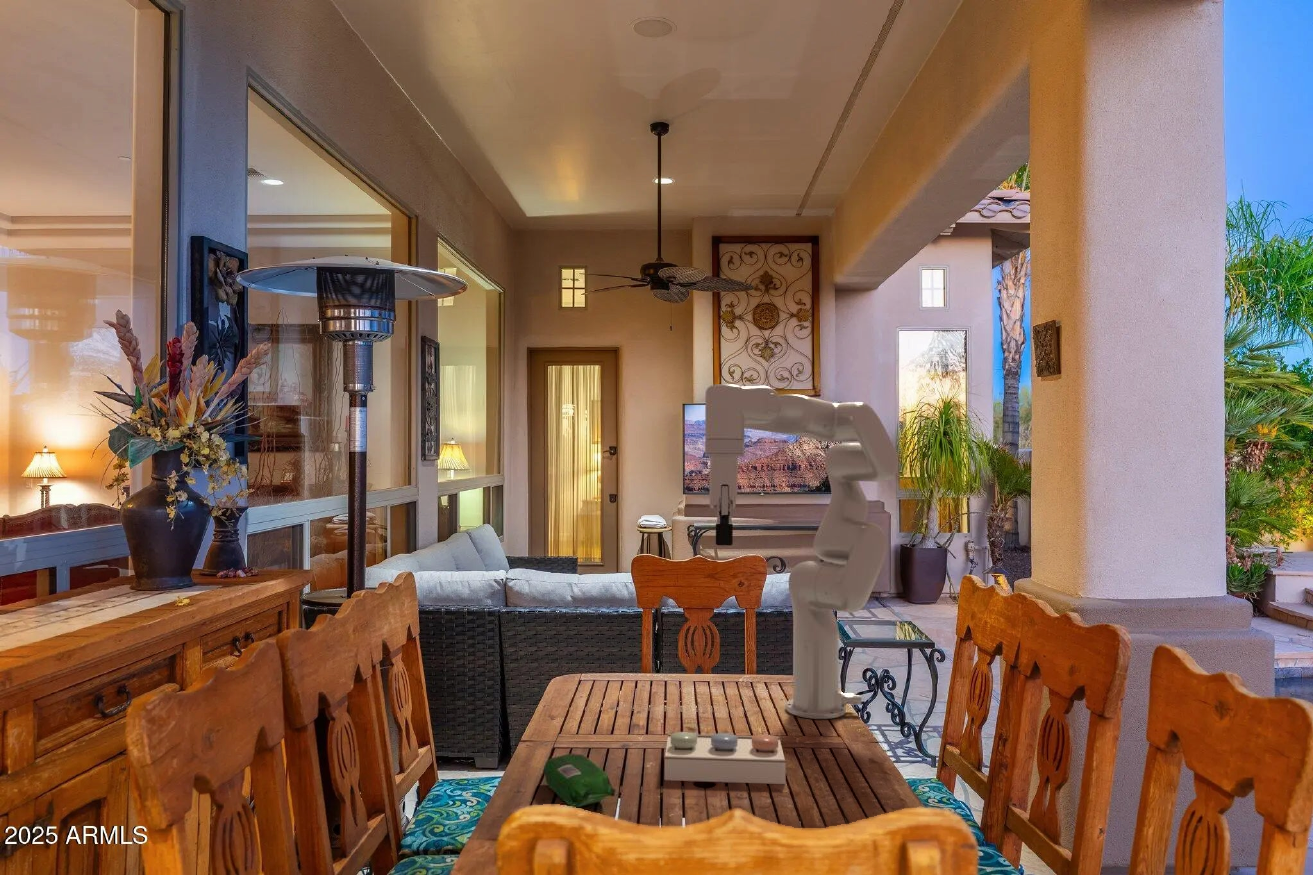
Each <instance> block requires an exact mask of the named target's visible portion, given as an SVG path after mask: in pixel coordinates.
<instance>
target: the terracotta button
mask: <svg viewBox="0 0 1313 875" xmlns="http://www.w3.org/2000/svg"><path fill="white" fill-rule="evenodd" d="M752 736H753V737H752V747H753V748H755V749H758V750H757V752H762V753H772V750H774V749H777V748H778V738H777V737H778V736H776V735H772V734H764V733H763V734H756V735H752Z"/></svg>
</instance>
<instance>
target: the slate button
mask: <svg viewBox="0 0 1313 875" xmlns="http://www.w3.org/2000/svg"><path fill="white" fill-rule="evenodd" d="M711 735H712V736H711V745H712V746H713V747H715V748H717V751H729V752H731V749H732V748H735V747H737V746H738V737H737V736H738V735H735V734H733V733H727V732H720V733H714V734H711Z"/></svg>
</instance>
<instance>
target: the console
mask: <svg viewBox="0 0 1313 875" xmlns="http://www.w3.org/2000/svg"><path fill="white" fill-rule="evenodd" d="M672 734H673V733H667V741H666V748H665V754H664V781H676V782H678V781H679V782H680V781H683V782H684V781H685V782H686V781H687V782H706V783H707V782H708V783H709V782H710V783H712V782H713V783H714V782H715V783H737V784H738V783H740V784H741V783H742V784H745V783H747V784H770V785H771V784H774V785H775V784H776V785H786V769H787V768H786V758H785V755H784V752H783V747H782V743H781V737H780V736H776V737H777V738H778V748H777V749H774V750H772V753H762V752H757V750H758V749H755V748H753V747H752V737H753V736H754V735H736V736H737V737H738V746H737V747H735V748H732V749H731V752H729V751H717V748H715V747H713V746H712V745H711V736H712V735H713V734H697V733H696V735H697V745H696V746H694V747H691V750H677V747H675V746H673V745H671V735H672Z"/></svg>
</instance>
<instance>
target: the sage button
mask: <svg viewBox="0 0 1313 875" xmlns="http://www.w3.org/2000/svg"><path fill="white" fill-rule="evenodd" d="M671 734H672V735H671V745H673V746H675V747H677V750H691V747H694V746H696V745H697V735H696V734H697V733H696V734H695V733H693V732H689V731H679V732H674V733H671Z"/></svg>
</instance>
